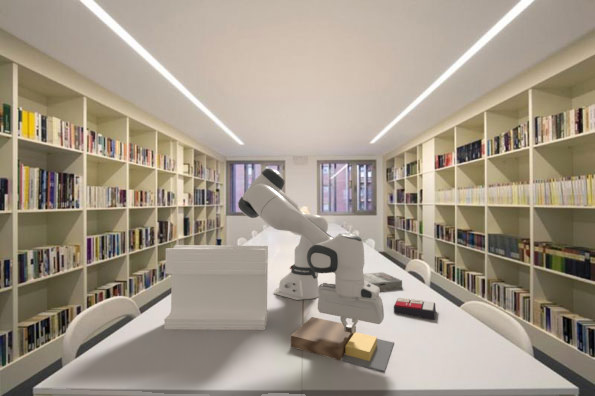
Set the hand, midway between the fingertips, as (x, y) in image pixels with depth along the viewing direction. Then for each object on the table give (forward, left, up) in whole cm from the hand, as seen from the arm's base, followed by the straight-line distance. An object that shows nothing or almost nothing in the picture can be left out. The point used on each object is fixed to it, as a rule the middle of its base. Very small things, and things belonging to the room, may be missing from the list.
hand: (349, 331), depth 87 cm
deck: (-8, 0, -5) cm, 10 cm away
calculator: (+16, +41, -6) cm, 44 cm away
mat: (+6, +1, -5) cm, 8 cm away
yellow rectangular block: (+4, 0, -4) cm, 6 cm away
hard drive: (-9, +70, -6) cm, 71 cm away
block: (-47, -6, -5) cm, 48 cm away
